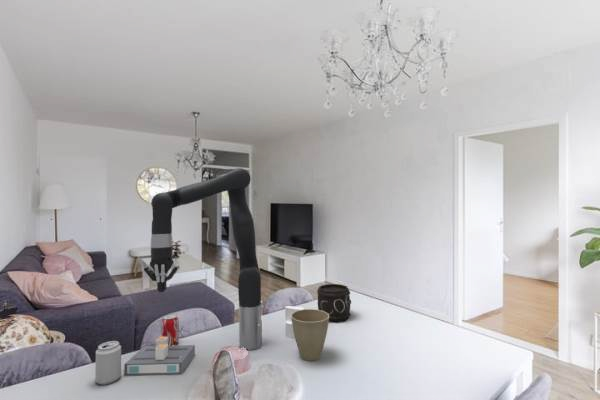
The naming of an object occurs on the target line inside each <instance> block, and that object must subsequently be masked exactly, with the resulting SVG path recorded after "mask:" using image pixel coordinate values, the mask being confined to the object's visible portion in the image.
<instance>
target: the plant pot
mask: <svg viewBox="0 0 600 400" xmlns="http://www.w3.org/2000/svg"><path fill="white" fill-rule="evenodd" d="M291 319H292V326H293V332H294V336H295V338H294V339H295V344H296V346H297V347H296V348H297V350H298V352H299V355H300V358H301V359H302V360H305V361H308V362H313V361H317V360H319V359H320V357H321V354H322V352H323V349H324V345H325V342H326V338H327V335H328V334H327V333H328V328H329V323H330V322H329V314H328V313H326V312H324V311H321V310H318V309H313V308H308V309H307V308H305V309H304V310H299V311H296V312H294V313H292V314H291Z"/></svg>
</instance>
